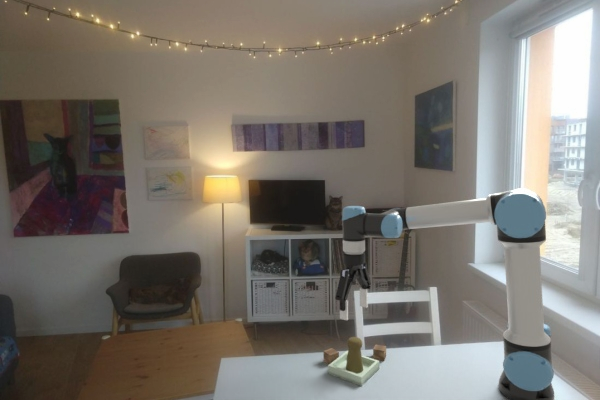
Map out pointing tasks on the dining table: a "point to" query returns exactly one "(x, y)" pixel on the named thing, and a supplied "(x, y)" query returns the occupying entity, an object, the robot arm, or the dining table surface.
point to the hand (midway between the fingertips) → (354, 312)
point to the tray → (340, 371)
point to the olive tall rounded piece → (354, 355)
